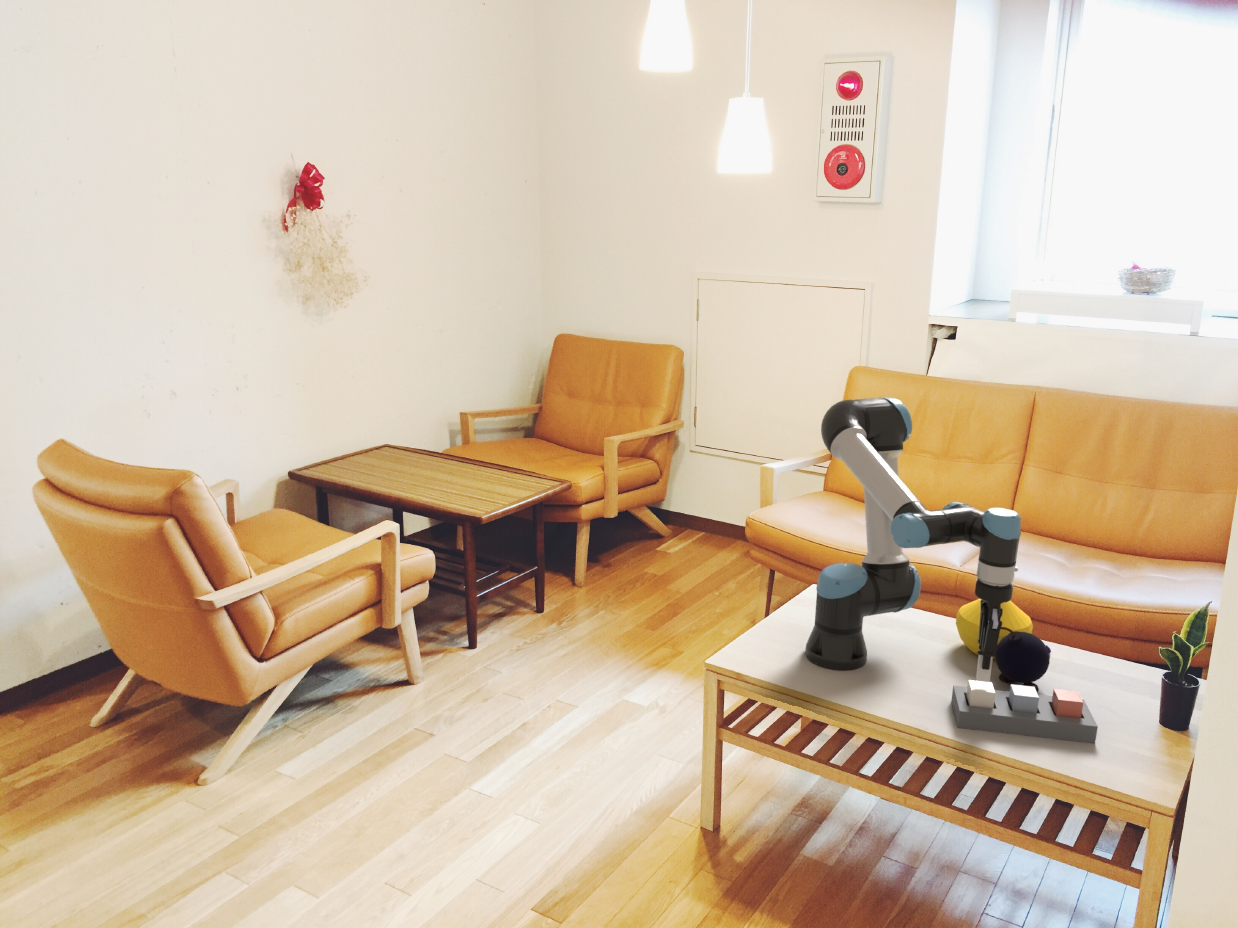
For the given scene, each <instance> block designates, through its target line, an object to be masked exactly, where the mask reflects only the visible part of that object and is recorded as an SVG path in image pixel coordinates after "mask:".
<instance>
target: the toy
mask: <svg viewBox="0 0 1238 928" xmlns="http://www.w3.org/2000/svg"><path fill="white" fill-rule="evenodd" d="M1001 629H1003V630H1007V631H1009V632H1010V633H1009V634H1008V635H1006V636H1005V637H1003V638H1002V639H1001V640H1000V642H999V643H998V645H997V649H996V655H995V659H994V660H995V664H996V667H997V668H998V670H999V672H1000V674H999V676H998V679H999V681H1001V682H1003V683H1005V684H1010V683H1011V684H1012V683H1018V684H1021V685H1022V686H1032V687H1035V689H1036V692H1037V693H1038V692H1039V690H1040V688H1039V686H1038V685H1037V684H1036V683H1034V682H1036V681H1039V680H1040V679H1041V678H1042V677H1043V676H1044V675H1045V674H1046V673H1047V671H1048V668H1049V666H1050V659H1051V653H1052V651H1051V648H1050V647H1049V645H1046V644H1045V642H1044V641H1042V639H1041V638H1039V637H1038V636H1036V635H1035V634H1033V633H1032V634H1030V633H1027V632H1018V631H1014V632H1013V631H1012V630H1011V629H1009V628H1006V627H1001Z"/></svg>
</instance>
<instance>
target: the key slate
mask: <svg viewBox="0 0 1238 928" xmlns="http://www.w3.org/2000/svg"><path fill="white" fill-rule="evenodd" d="M1009 687H1010V688H1009V691H1010V693H1009V703H1010V705H1011V708H1012V711H1020V712H1029V713H1037V709H1038V702H1039V696H1038V695H1039V694H1038V692H1036V689H1035V687H1032V686H1022V684H1012V683H1011V684H1010V686H1009Z"/></svg>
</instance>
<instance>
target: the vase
mask: <svg viewBox="0 0 1238 928" xmlns="http://www.w3.org/2000/svg"><path fill="white" fill-rule="evenodd" d="M980 601H981V599H980V598H977V599H976V600H973V601H971V602H969V603H966V604H963V605H962V606H961V607H960V608H959V609H958V611H957V613H956V616H955V626H956V628H957V632H958V635H959V638H960V640H961V641H962V642H963V644H964V645H965V646H966V647H967V648H968V649H969V650H970V651H971V652H973V653H974V654H975V655H977V656H979V655H978V653H977V652H978V651H981V650H979V645H980V644H979V643H978V639H979V626H980V612H981V603H980ZM1001 608H1002V609H1003V612H1002V616H1001V619H1000V621H1002V626H1001V627H1006V628H1009V629H1011V630H1012V631H1013V632H1014V631H1018V632H1027V633H1030V634H1033V629H1034V628H1033V627H1034V625H1033V622H1032V619H1031V617H1030V616H1029V615H1028V614H1027V613H1025V612H1024V611H1023V610H1022V609H1021V608H1020V607H1019V606H1017V605H1016V604H1015V603H1014V602H1013V601H1011V600H1010V601H1008V602H1004V603H1001ZM1009 633H1010V632H1009V631H1007V630H1003V629H1000V633H999V639H998V643H999V642H1000V640H1001V639H1002V638H1003V637H1005V636H1006V635H1008V634H1009ZM997 645H998V644H997ZM993 660H995V657H993Z"/></svg>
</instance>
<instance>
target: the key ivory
mask: <svg viewBox="0 0 1238 928" xmlns="http://www.w3.org/2000/svg"><path fill="white" fill-rule="evenodd" d="M966 687H967V699H968V703H969V706H975V707H984V708H994V700H995V690H996V689H995V688H994V685H993V682H991V681H990V682H983V681H977V680H972V679H968V681H967V686H966Z"/></svg>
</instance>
